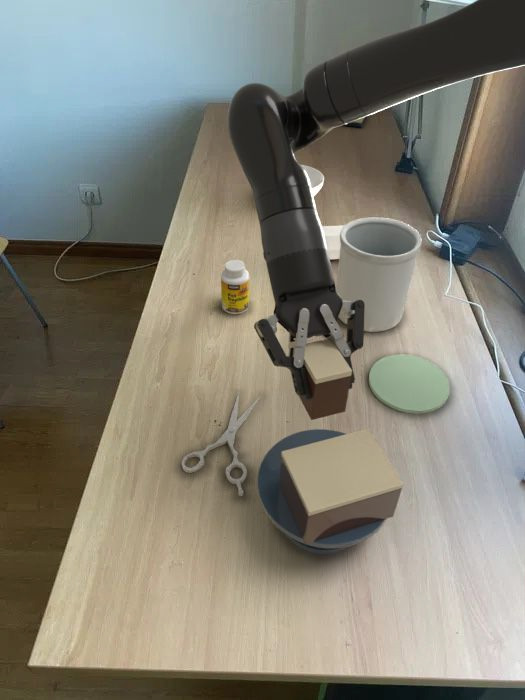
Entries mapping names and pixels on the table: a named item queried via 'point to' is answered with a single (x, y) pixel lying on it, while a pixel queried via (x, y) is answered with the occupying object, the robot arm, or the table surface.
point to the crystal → (333, 240)
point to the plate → (409, 383)
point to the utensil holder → (377, 268)
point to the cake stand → (328, 488)
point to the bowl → (314, 178)
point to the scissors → (225, 438)
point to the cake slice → (326, 379)
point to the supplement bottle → (235, 287)
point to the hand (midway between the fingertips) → (327, 393)
